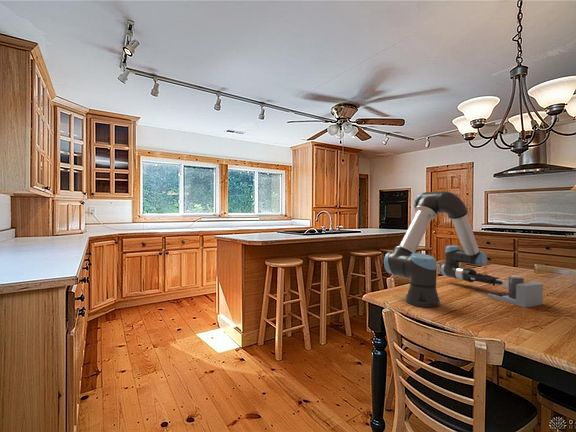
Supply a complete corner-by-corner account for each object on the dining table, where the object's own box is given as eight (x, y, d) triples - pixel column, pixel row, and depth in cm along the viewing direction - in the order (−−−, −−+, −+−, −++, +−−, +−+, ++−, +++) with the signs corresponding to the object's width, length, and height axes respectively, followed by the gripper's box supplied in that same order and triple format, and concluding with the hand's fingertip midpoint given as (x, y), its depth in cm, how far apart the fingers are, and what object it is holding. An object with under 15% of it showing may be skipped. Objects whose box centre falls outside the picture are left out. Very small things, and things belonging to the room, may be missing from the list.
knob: (519, 303, 142) (519, 278, 141) (502, 298, 149) (502, 274, 149) (529, 301, 144) (530, 277, 144) (512, 296, 152) (513, 273, 152)
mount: (524, 307, 137) (525, 286, 137) (486, 296, 154) (487, 277, 154) (542, 304, 142) (543, 283, 141) (503, 294, 158) (504, 275, 158)
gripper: (474, 280, 174) (517, 290, 152) (458, 281, 169) (501, 293, 147) (474, 267, 174) (518, 276, 152) (458, 269, 169) (501, 278, 147)
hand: (509, 284), depth 150 cm, fingers closed
